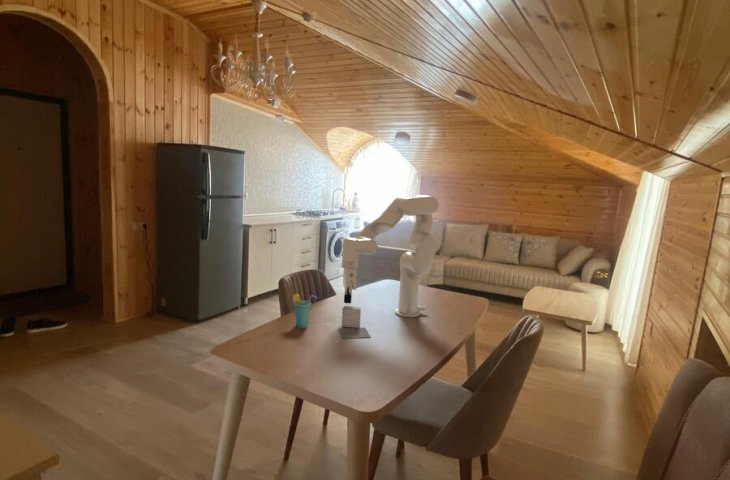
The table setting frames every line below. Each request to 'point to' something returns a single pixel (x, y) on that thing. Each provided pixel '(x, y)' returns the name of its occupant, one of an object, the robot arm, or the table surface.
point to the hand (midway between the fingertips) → (347, 302)
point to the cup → (302, 310)
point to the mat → (354, 333)
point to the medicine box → (351, 316)
